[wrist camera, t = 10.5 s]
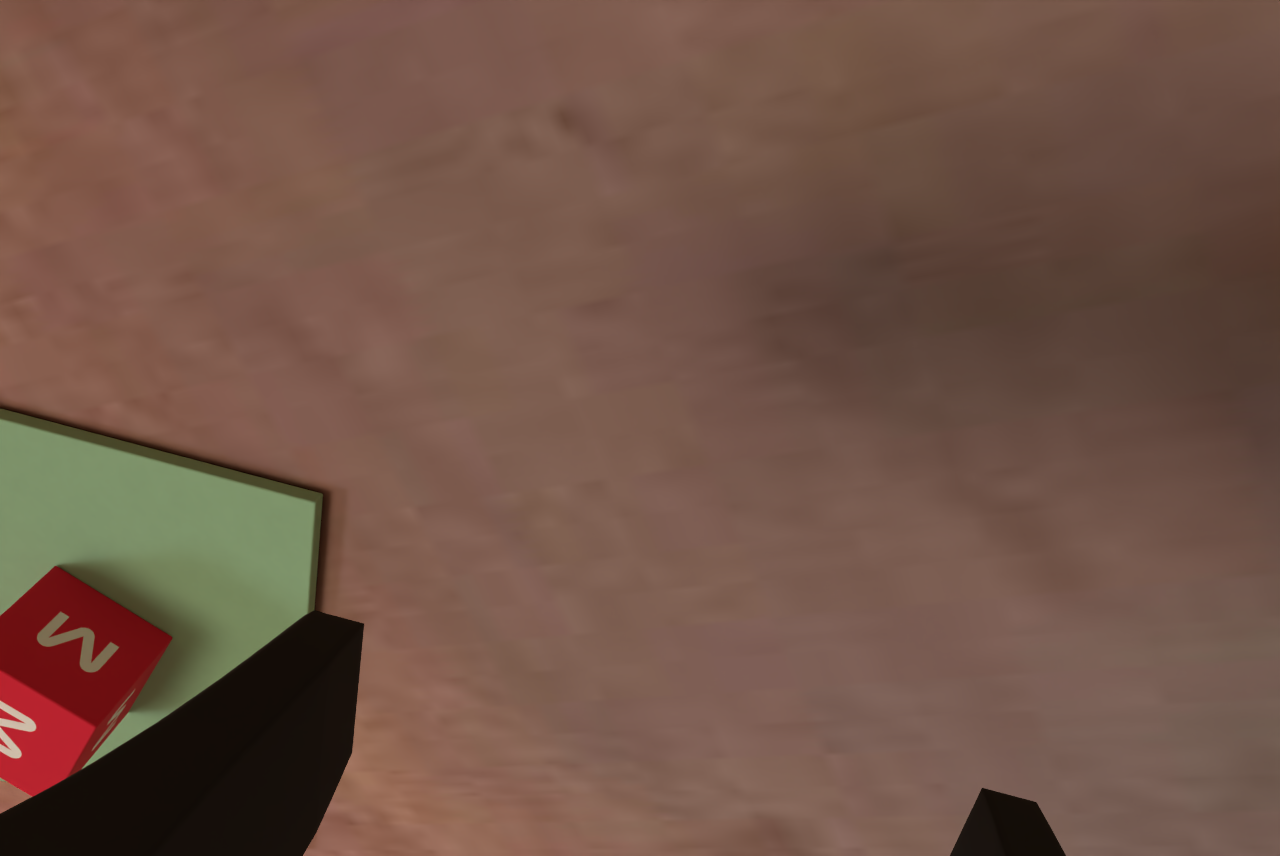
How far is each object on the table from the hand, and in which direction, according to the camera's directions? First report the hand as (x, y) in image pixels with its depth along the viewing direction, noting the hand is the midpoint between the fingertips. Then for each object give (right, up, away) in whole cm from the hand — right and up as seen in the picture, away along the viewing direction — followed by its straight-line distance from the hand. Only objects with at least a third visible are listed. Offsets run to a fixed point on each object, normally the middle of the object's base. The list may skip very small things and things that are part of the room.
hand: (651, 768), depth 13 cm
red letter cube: (-13, -1, +13) cm, 18 cm away
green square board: (-13, -1, +14) cm, 19 cm away
